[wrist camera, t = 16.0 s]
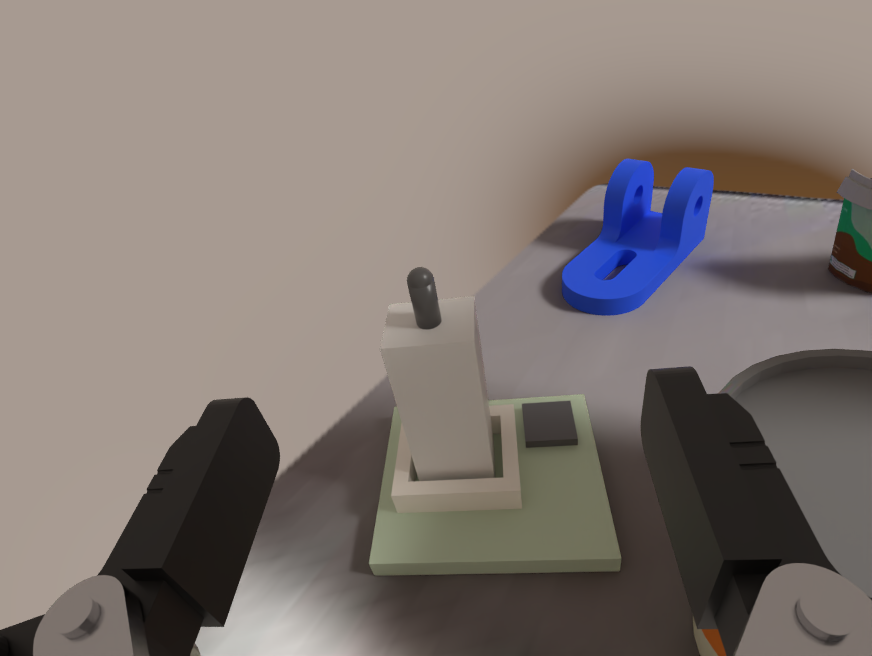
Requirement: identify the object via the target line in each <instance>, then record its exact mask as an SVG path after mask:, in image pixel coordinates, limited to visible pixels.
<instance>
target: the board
mask: <svg viewBox="0 0 872 656" xmlns="http://www.w3.org/2000/svg"><path fill="white" fill-rule="evenodd" d="M489 408H490V416H491V423H492V430H493V438H494V454H495V478H482V479H460V480H437V481H419V479H418V475H417V472H416V469H415V465H414V462H413V459H412V455H411V452H410V449H409V445H408V442H407V438H406V435H405V432H404V428H403V425H402V422H401V418H400V415H399V412H398V408H397V407H394V412H393V418H392V424H391V430H390V436H389V443H388V449H387V455H386V461H385V467H384V473H383V480H382V486H381V492H380V498H379V504H378V510H377V517H376V523H375V529H374V535H373V541H372V548H371V554H370V560H369V565H370V568H371V570H372V572H373V574H374V576H388V575H443V574H498V573H553V572H608V571H620V566H621V554H620V550H619V545H618V541H617V537H616V532H615V528H614V523H613V519H612V515H611V510H610V506H609V502H608V497H607V493H606V488H605V484H604V480H603V475H602V471H601V466H600V462H599V458H598V453H597V449H596V444H595V440H594V436H593V431H592V427H591V422H590V418H589V414H588V409H587V405H586V401H585V396H584V394H581V395H565V396H550V397H535V398H520V399H505V400H490V401H489Z"/></svg>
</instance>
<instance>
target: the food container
mask: <svg viewBox="0 0 872 656" xmlns="http://www.w3.org/2000/svg"><path fill="white" fill-rule="evenodd" d="M837 193H838V194H840V195H841V196H842V197H844V201H843V206H842V210H841V215H840V219H839V223H838V228H837V232H836V237H835V241H834V245H833V250H832V254H831V259H830V263H829V267H828V270H829V271H830V272H831V273H832V274H833V275H834V276H835V277H837V278H838V279H840V280H842V281H843V282H845V283H847V284H848V285H851V286H853V287H856V288H858V289H861V290H864V291H866V292H870V293H872V178H867V177H865V176H863V175H861V174H859V173H858V172H856V171H855V170H853V169H852V170H851V173H850V175H849V177H845V179H844V181H843V182H842V184H841V186H840V188H839V190H838V191H837Z"/></svg>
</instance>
